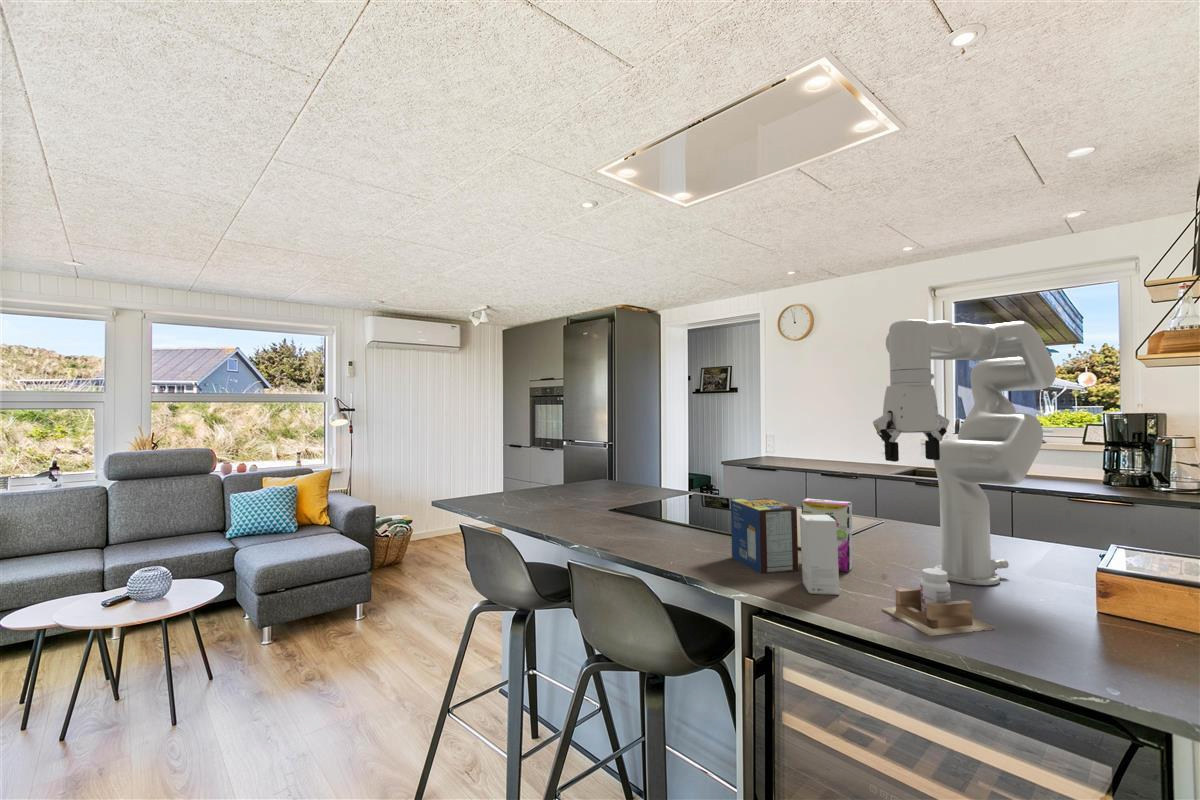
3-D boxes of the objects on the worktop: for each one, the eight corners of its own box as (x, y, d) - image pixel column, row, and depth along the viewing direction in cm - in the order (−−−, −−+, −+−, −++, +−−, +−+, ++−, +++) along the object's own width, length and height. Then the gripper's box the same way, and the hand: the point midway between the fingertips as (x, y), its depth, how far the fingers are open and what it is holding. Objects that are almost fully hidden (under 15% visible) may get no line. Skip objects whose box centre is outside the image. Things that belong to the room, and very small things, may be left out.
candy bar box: (801, 566, 133) (800, 500, 134) (805, 561, 138) (804, 497, 138) (850, 573, 127) (849, 504, 128) (853, 568, 132) (852, 501, 132)
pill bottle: (915, 612, 101) (913, 568, 102) (939, 611, 102) (937, 567, 102) (932, 622, 97) (931, 575, 97) (957, 621, 97) (956, 574, 97)
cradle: (940, 605, 106) (939, 583, 106) (994, 629, 94) (994, 604, 94) (881, 610, 104) (881, 587, 104) (930, 635, 92) (929, 610, 92)
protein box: (766, 554, 145) (765, 497, 145) (799, 571, 130) (797, 507, 130) (730, 557, 142) (729, 499, 143) (759, 574, 127) (758, 509, 128)
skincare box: (840, 596, 112) (838, 521, 112) (806, 594, 113) (805, 520, 114) (831, 583, 120) (829, 513, 121) (800, 581, 122) (798, 513, 122)
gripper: (932, 379, 118) (934, 457, 118) (861, 380, 115) (863, 460, 115) (960, 377, 110) (963, 460, 110) (886, 378, 107) (888, 463, 107)
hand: (912, 460), depth 112 cm, fingers open, 9 cm apart
